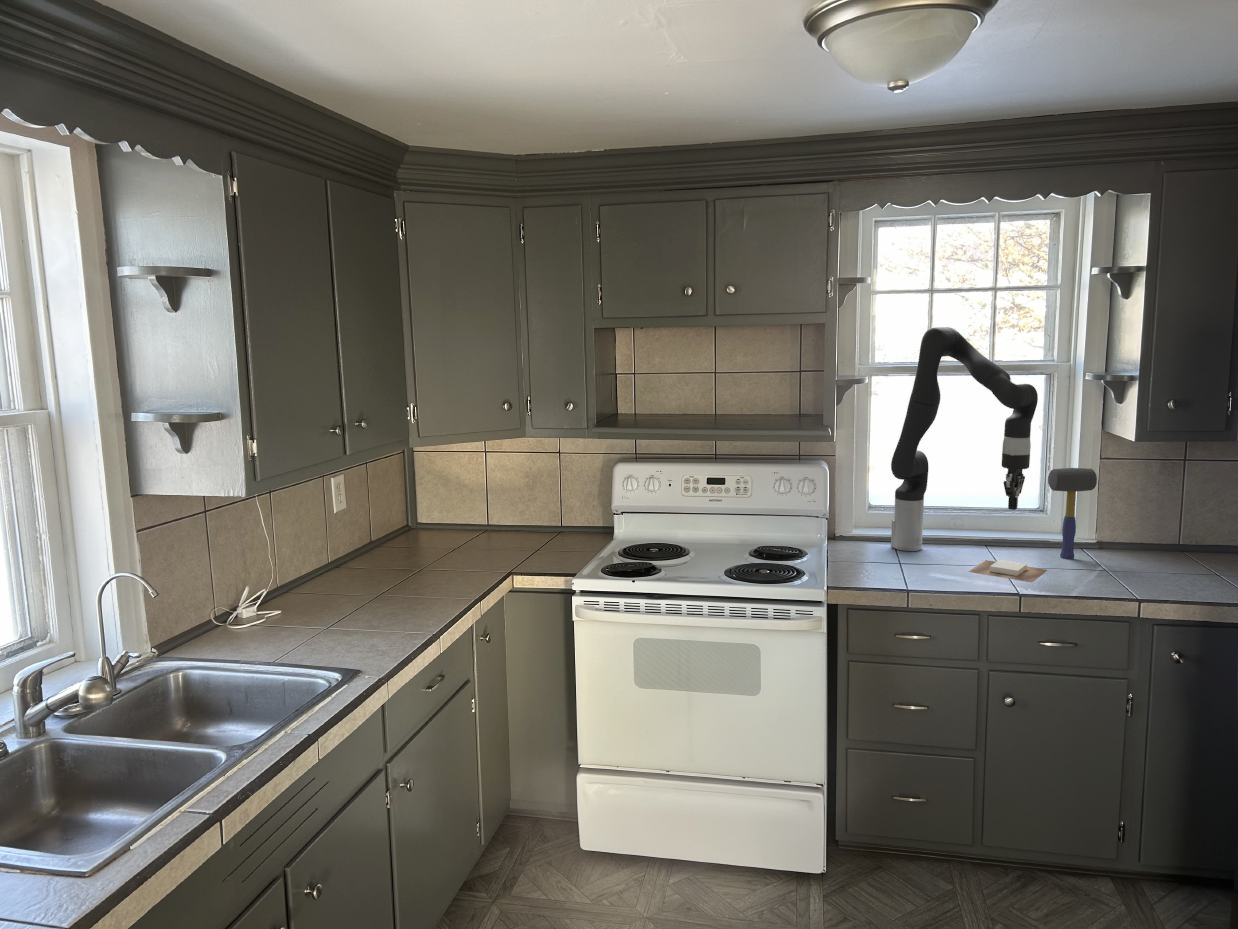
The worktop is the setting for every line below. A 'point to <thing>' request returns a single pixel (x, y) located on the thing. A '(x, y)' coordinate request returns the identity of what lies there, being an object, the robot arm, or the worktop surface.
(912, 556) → the worktop surface
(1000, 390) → the robot arm
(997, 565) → the block
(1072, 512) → the rubber mallet
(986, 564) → the board
